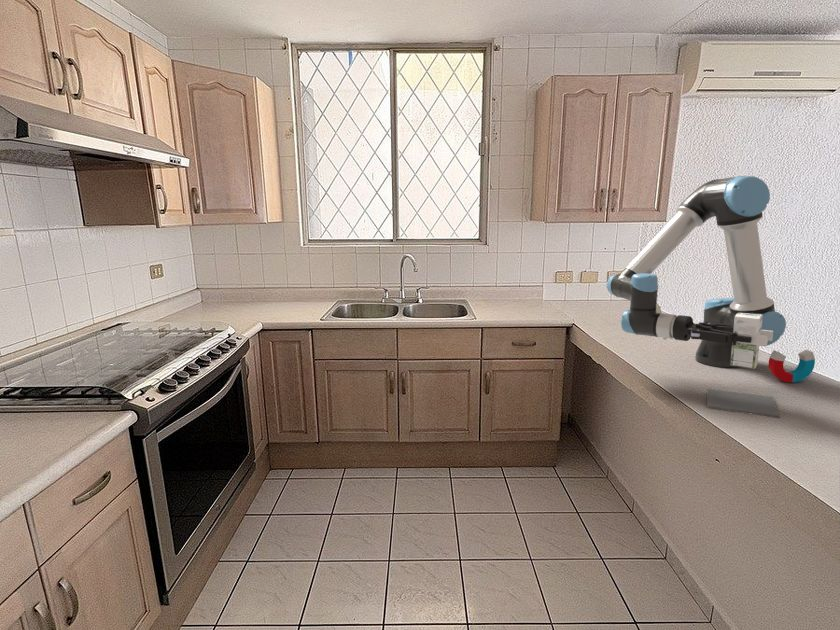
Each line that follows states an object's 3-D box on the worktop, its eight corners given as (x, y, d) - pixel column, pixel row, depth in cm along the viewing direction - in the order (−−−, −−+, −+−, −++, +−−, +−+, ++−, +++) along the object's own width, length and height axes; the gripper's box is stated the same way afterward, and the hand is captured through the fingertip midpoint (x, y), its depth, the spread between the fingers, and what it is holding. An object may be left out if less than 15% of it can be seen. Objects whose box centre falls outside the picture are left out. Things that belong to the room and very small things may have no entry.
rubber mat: (707, 390, 140) (707, 388, 139) (772, 398, 131) (772, 396, 131) (707, 407, 128) (707, 405, 128) (779, 417, 120) (779, 415, 119)
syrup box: (758, 364, 127) (763, 313, 124) (754, 370, 123) (760, 317, 120) (733, 360, 131) (738, 311, 128) (729, 366, 127) (734, 315, 124)
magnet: (806, 379, 144) (810, 349, 142) (812, 382, 141) (816, 351, 139) (766, 380, 145) (769, 350, 143) (772, 383, 142) (775, 352, 140)
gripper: (685, 332, 145) (775, 344, 129) (663, 346, 133) (760, 360, 116) (686, 309, 144) (778, 318, 127) (665, 321, 131) (763, 332, 115)
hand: (769, 338), depth 122 cm, fingers closed on syrup box, 6 cm apart
